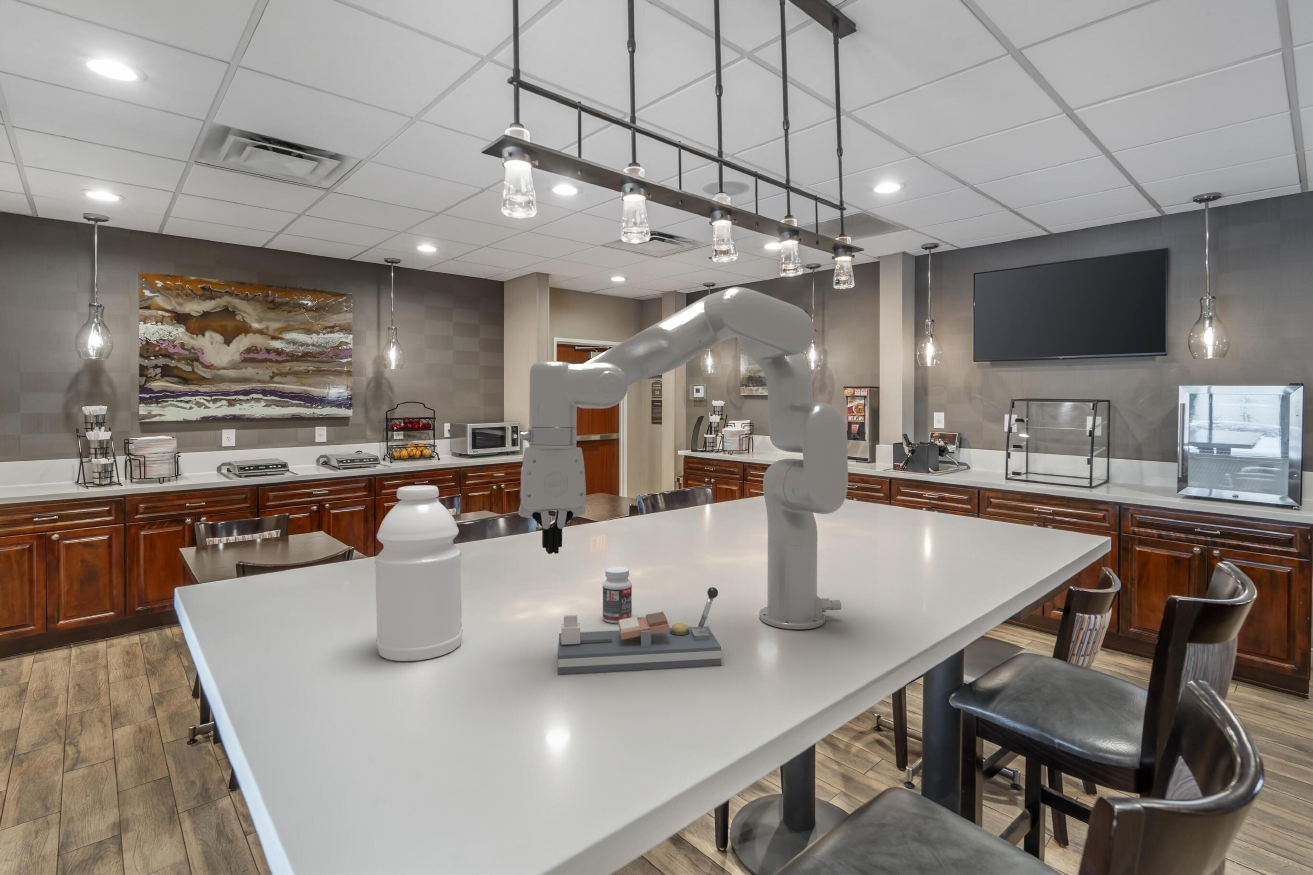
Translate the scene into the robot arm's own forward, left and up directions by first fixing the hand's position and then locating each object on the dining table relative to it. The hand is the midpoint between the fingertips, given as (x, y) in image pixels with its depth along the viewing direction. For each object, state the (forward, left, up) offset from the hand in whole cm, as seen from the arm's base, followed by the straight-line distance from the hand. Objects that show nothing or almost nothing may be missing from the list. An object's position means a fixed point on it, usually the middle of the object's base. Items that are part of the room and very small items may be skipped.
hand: (552, 551), depth 102 cm
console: (-14, 0, -18) cm, 23 cm away
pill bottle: (-12, -20, -19) cm, 30 cm away
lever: (-24, 0, -14) cm, 28 cm away
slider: (-3, 0, -15) cm, 16 cm away
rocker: (-15, 0, -13) cm, 20 cm away
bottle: (+23, -10, -18) cm, 31 cm away
